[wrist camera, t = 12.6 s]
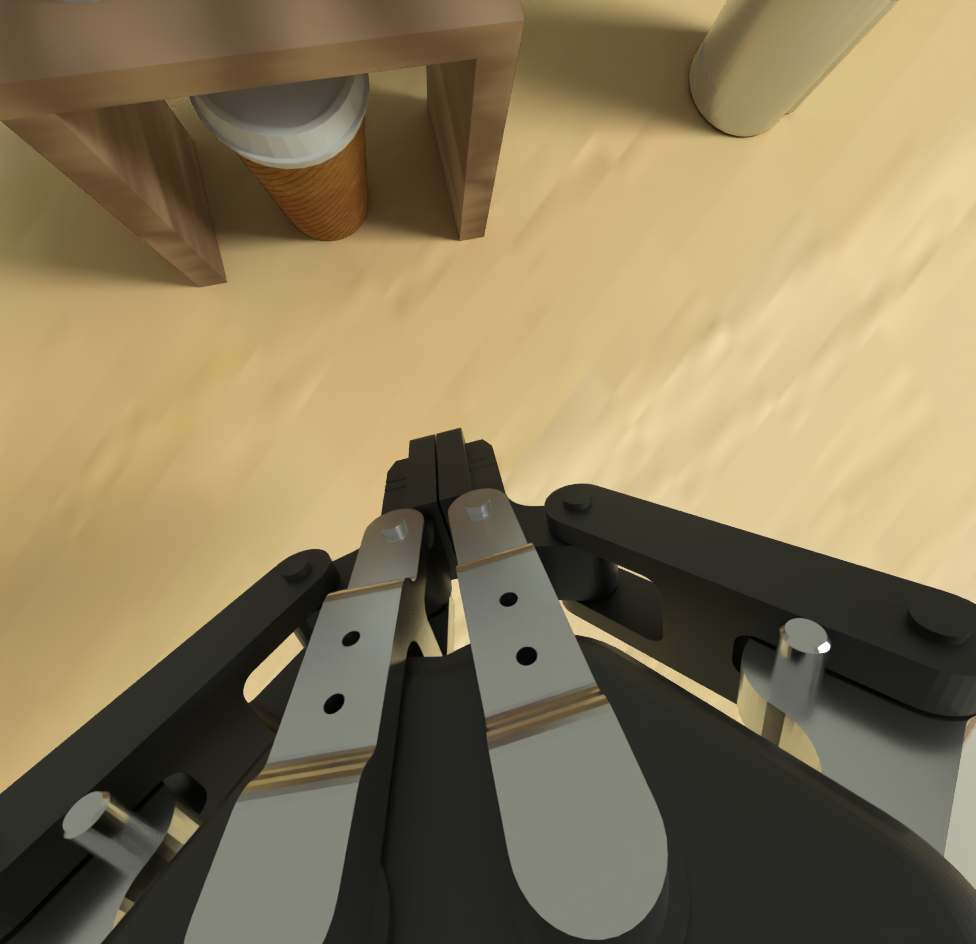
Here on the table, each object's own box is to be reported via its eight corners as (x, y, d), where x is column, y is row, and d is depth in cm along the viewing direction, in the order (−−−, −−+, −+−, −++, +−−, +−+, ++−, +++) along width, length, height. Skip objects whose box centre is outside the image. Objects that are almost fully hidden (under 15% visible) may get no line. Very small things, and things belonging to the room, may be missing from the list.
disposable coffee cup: (237, 214, 34) (131, 70, 22) (308, 117, 35) (242, -73, 23) (345, 286, 35) (299, 183, 23) (412, 189, 36) (400, 41, 24)
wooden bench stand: (451, 103, 36) (465, -227, 20) (484, 236, 36) (524, 20, 20) (165, 144, 34) (-106, -196, 17) (199, 287, 34) (-38, 88, 17)
